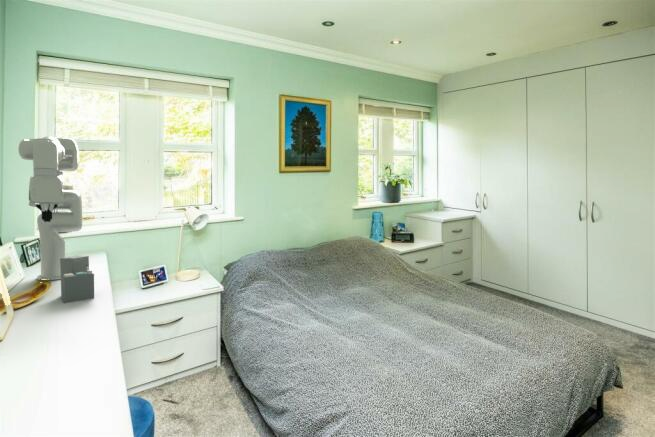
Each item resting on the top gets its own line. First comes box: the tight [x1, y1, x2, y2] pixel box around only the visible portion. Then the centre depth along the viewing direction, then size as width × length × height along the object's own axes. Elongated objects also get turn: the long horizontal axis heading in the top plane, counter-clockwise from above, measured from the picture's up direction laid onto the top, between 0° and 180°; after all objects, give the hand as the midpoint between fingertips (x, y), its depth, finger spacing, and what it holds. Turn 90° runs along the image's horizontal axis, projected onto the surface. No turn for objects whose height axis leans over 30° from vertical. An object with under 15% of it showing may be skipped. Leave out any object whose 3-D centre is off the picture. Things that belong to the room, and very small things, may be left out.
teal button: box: [75, 272, 85, 276], centre depth 147 cm, size 3×3×3 cm
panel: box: [60, 272, 95, 304], centre depth 147 cm, size 4×10×10 cm, turn 139°
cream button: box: [64, 273, 74, 277], centre depth 144 cm, size 3×3×3 cm
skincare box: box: [60, 255, 90, 275], centre depth 153 cm, size 8×7×16 cm
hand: (47, 221), depth 142 cm, fingers closed
